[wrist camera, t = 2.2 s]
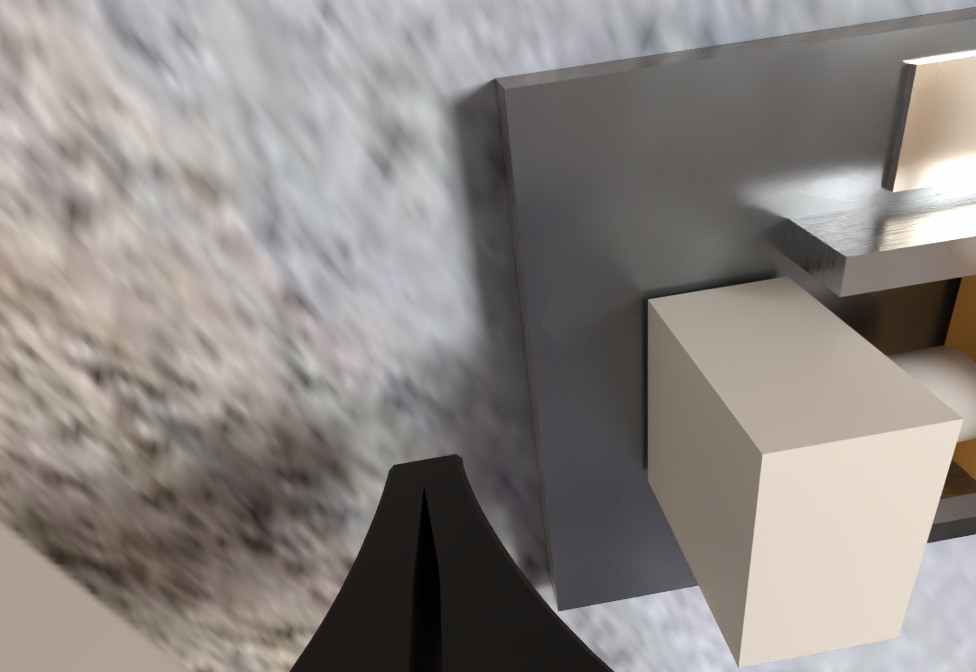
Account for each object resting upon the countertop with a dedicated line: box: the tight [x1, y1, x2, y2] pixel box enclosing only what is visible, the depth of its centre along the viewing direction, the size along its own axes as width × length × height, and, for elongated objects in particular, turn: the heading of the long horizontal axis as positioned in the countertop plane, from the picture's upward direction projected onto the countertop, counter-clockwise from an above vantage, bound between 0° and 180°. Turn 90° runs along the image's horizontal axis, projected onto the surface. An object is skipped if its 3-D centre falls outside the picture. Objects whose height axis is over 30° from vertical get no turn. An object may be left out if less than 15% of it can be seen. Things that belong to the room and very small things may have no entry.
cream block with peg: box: [648, 276, 976, 668], centre depth 13 cm, size 6×5×5 cm
